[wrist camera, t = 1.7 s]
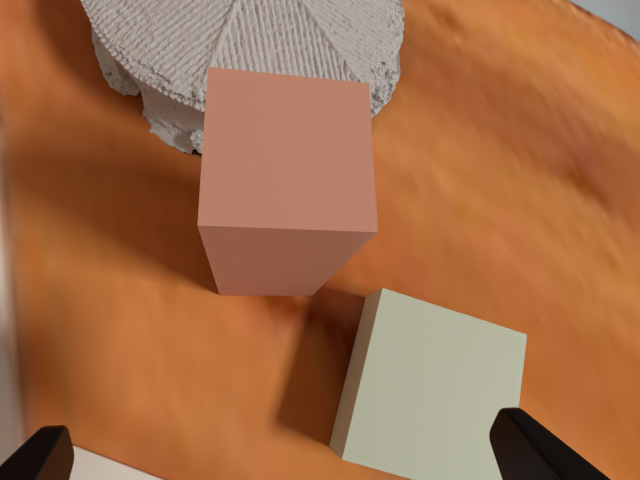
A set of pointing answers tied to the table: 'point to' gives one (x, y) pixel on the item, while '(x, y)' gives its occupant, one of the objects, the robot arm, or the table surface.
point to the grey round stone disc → (239, 50)
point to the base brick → (426, 390)
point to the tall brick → (284, 180)
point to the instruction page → (103, 468)
